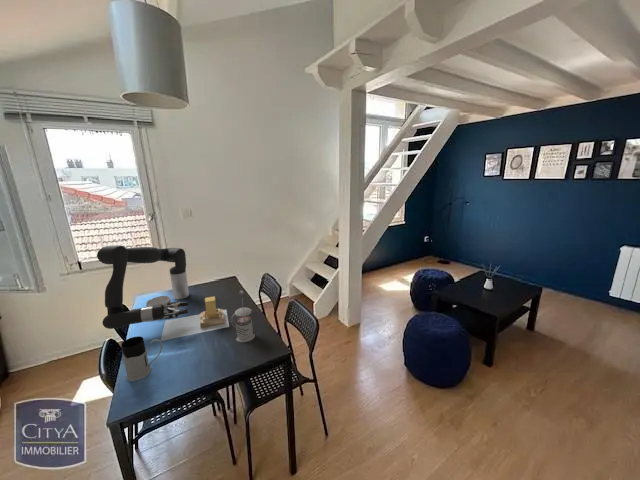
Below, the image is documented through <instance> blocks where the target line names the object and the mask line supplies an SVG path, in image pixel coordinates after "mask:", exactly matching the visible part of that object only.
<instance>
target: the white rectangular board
mask: <svg viewBox="0 0 640 480" xmlns="http://www.w3.org/2000/svg"><path fill="white" fill-rule="evenodd" d="M227 312H228V311H227V309H223V314H224V321H225V324H221V325H216V326H211V327H206V328H201V327H200V313H199V314H194V315H189V316H184V317H177V318H171V319H166V320H165V321H164V326H163V329H162V333H161V338H160V341H161V342H162V341H167V340H172V339H178V338H183V337H186V336H191V335H197V334H202V333H205V332H211V331H215V330H220V329H225V328H226V329H227V328H229V327H230V324H229V318H228V317H229V316H228V313H227Z"/></svg>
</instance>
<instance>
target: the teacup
mask: <svg viewBox="0 0 640 480" xmlns="http://www.w3.org/2000/svg"><path fill="white" fill-rule="evenodd" d="M171 299H172V298H171V296H170V295H169V296H168V295H160V296H156V297H153V298H151V299H149V300H147V301H146V302H145V307H148V306H154V305H160V304H163V306H164V307H165V306H167V303H170V302H172V301H171Z"/></svg>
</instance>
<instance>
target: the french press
mask: <svg viewBox="0 0 640 480" xmlns="http://www.w3.org/2000/svg"><path fill="white" fill-rule="evenodd" d="M244 292H245V291H243V290H239V294H241V295H243V294H244ZM241 300H242V301H241V304H242V306H244V302H243V299H241ZM252 311H253V310H252V309H251V308H249V307H239V308H238V309H236V310H235V311H234V313H233V314H232V315H231V317H230V319H231V320H232V321H230V323H231V325H232V327H234V328H235V330H236V336H235V337H234V338H235V340H236V341H237V342H240V343H246V342H251V341H252V340H254V338H255V337H256V334H255V332H254V329H253V328H254V327H253V320H252V317H251V316H250V314H252ZM234 316H235V317H237V318H236V320H235V321H236V322H234ZM233 323H234V324H233Z"/></svg>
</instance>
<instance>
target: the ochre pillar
mask: <svg viewBox="0 0 640 480" xmlns="http://www.w3.org/2000/svg"><path fill="white" fill-rule="evenodd" d="M204 304H205V311H206V313H207V318H208V317H213V316H217V312H216V309H217V304H216V296H208V297H204Z"/></svg>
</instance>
